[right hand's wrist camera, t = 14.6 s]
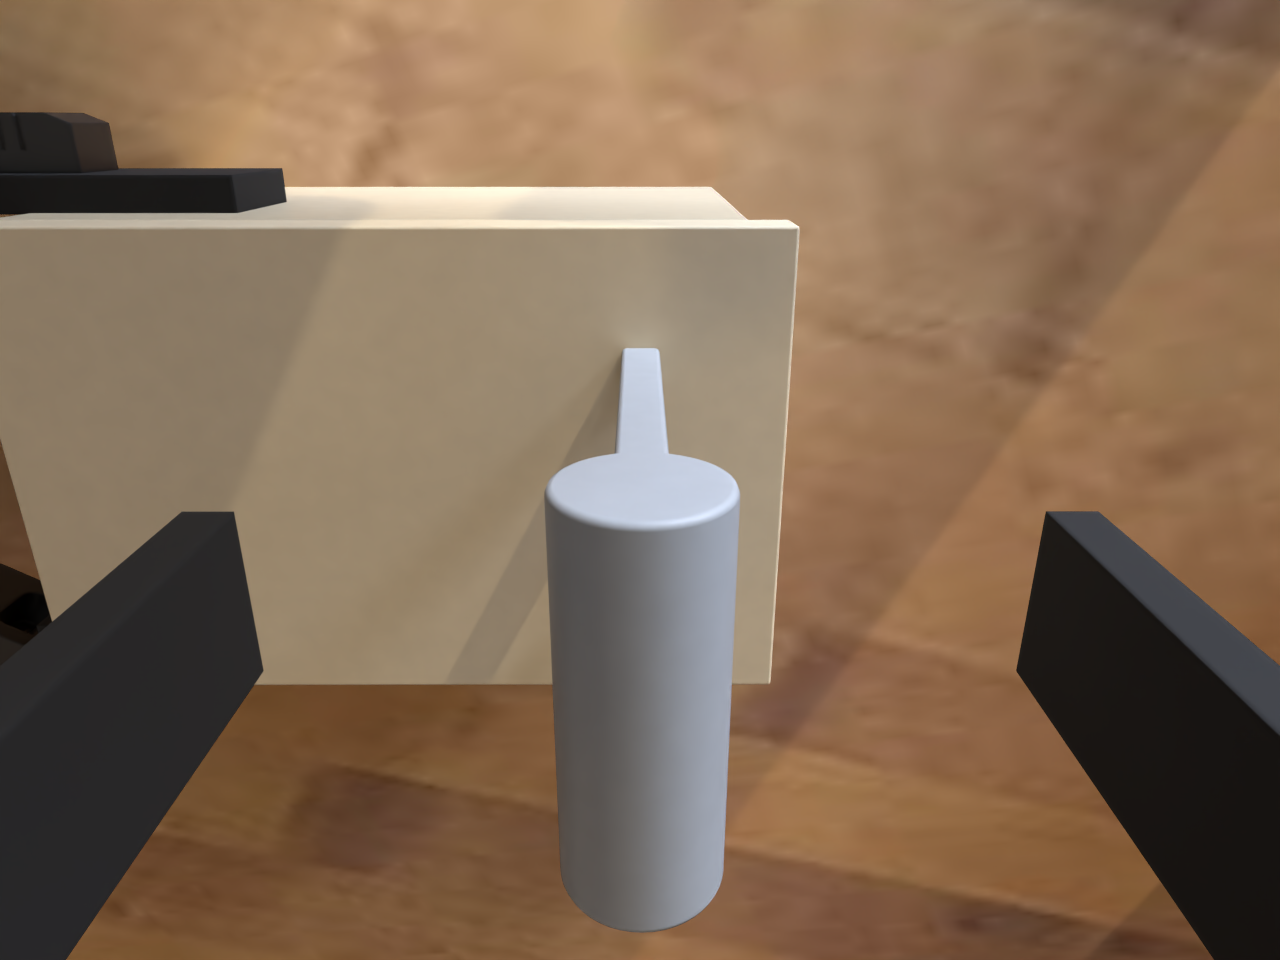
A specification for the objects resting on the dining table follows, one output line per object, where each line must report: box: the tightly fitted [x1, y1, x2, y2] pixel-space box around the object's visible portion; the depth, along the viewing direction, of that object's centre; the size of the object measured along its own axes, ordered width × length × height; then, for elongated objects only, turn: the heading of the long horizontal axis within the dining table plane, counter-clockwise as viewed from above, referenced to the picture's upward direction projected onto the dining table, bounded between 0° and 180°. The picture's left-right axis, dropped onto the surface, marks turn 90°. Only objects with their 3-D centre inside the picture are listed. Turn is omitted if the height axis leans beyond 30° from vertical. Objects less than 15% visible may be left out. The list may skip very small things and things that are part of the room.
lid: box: [0, 220, 800, 932], centre depth 14 cm, size 15×10×9 cm, turn 90°
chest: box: [0, 187, 747, 220], centre depth 23 cm, size 14×10×9 cm
